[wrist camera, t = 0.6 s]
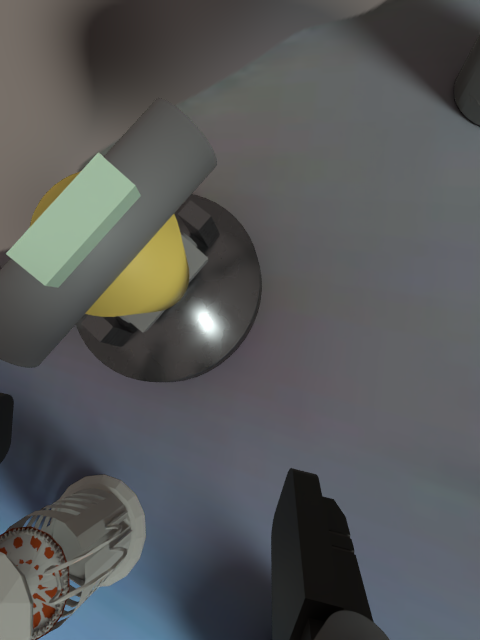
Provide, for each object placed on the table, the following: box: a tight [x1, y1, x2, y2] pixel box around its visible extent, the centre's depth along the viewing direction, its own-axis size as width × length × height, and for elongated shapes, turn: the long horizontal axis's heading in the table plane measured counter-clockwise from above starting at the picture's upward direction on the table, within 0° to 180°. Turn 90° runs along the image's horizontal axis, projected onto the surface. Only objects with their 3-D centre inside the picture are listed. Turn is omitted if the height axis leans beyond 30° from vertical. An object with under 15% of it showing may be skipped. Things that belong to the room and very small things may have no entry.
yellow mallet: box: [0, 98, 217, 368], centre depth 21 cm, size 10×6×22 cm, turn 139°
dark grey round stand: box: [76, 194, 262, 382], centre depth 33 cm, size 18×18×8 cm
